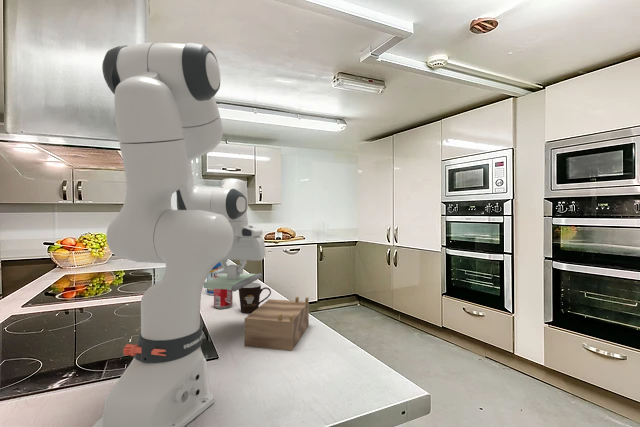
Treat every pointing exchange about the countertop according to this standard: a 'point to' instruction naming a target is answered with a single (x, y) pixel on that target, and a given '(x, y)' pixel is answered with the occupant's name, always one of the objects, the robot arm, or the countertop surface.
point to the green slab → (232, 279)
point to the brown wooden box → (277, 324)
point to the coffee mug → (251, 297)
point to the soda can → (222, 296)
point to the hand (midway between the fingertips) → (233, 273)
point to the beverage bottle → (211, 275)
